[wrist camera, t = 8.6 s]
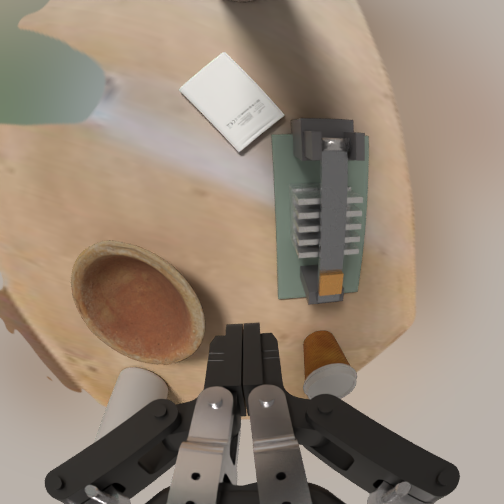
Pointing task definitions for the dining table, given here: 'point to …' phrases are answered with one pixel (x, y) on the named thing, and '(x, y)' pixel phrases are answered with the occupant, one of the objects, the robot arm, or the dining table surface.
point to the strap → (332, 217)
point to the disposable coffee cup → (326, 367)
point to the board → (287, 173)
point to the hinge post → (314, 129)
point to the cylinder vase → (131, 397)
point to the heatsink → (318, 219)
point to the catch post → (312, 283)
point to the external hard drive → (231, 101)
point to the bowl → (137, 303)
